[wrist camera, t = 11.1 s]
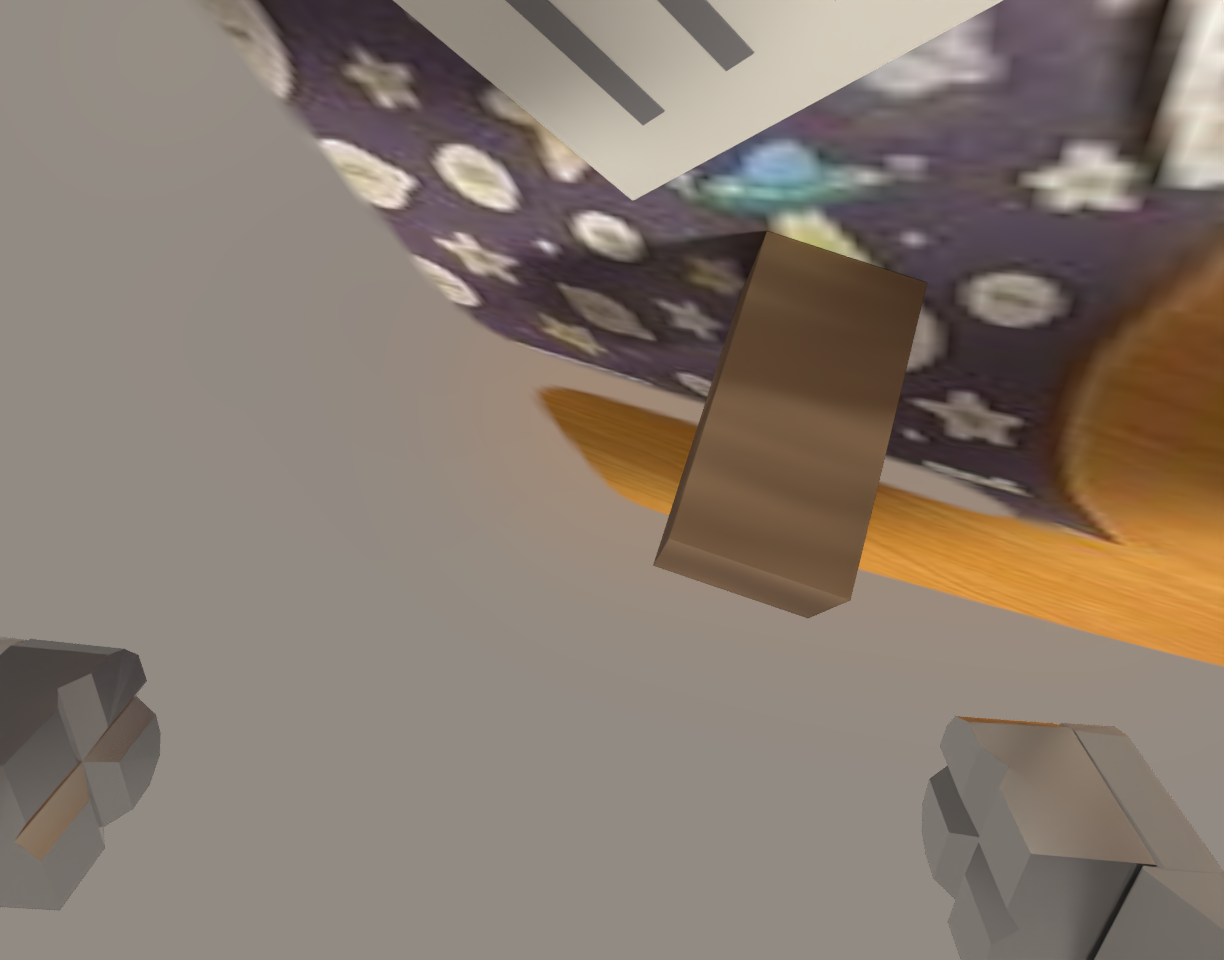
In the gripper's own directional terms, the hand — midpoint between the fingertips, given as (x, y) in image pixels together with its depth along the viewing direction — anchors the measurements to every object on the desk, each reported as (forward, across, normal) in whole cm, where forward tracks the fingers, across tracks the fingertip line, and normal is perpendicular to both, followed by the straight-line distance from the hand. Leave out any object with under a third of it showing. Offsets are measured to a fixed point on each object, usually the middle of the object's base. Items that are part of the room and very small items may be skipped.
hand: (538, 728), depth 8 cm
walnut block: (+15, +5, +1) cm, 16 cm away
